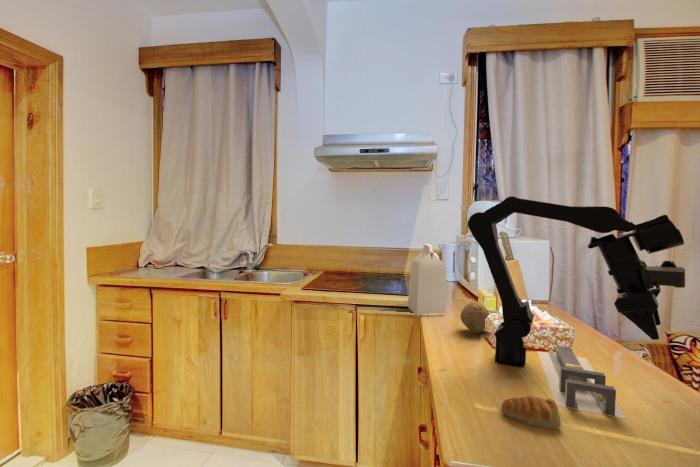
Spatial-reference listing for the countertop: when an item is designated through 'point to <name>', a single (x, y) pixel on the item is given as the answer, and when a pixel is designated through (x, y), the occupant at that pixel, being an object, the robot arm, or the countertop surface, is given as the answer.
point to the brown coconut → (474, 316)
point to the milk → (427, 283)
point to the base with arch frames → (579, 387)
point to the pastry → (533, 411)
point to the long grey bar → (568, 361)
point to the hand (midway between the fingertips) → (656, 331)
